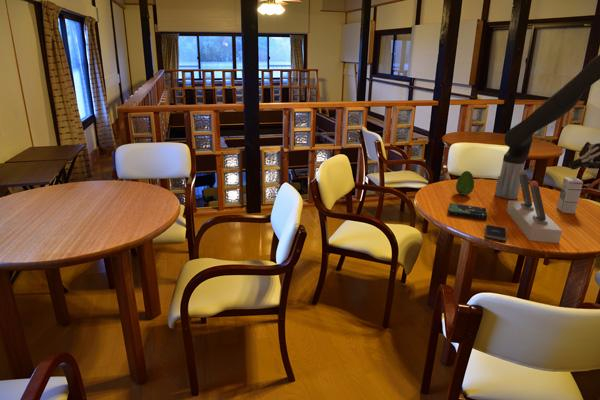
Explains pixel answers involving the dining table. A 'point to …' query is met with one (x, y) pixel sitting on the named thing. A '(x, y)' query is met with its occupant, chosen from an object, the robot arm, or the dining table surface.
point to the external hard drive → (495, 233)
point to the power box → (533, 223)
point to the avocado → (465, 183)
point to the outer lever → (537, 200)
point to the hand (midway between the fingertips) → (570, 167)
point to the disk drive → (467, 211)
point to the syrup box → (569, 195)
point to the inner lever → (525, 188)
